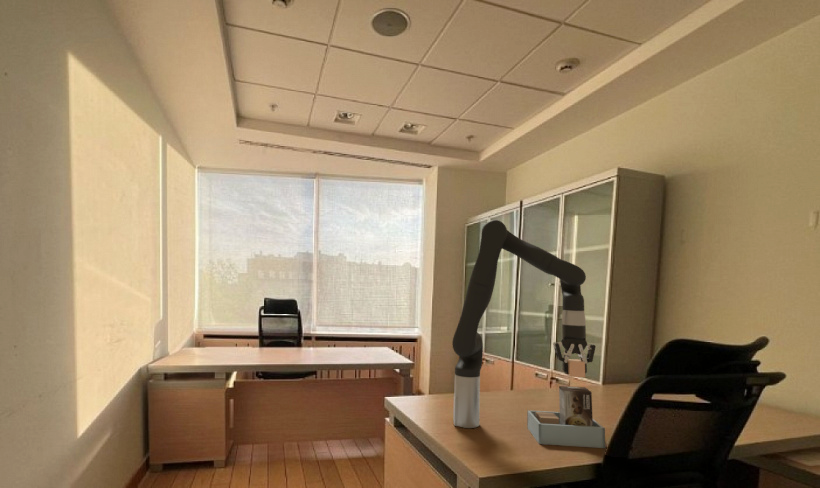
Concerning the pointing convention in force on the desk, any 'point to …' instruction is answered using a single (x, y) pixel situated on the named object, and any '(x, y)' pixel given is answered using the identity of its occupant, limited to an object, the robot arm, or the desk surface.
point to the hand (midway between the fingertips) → (574, 373)
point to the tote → (565, 432)
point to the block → (547, 418)
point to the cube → (576, 368)
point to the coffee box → (575, 406)
